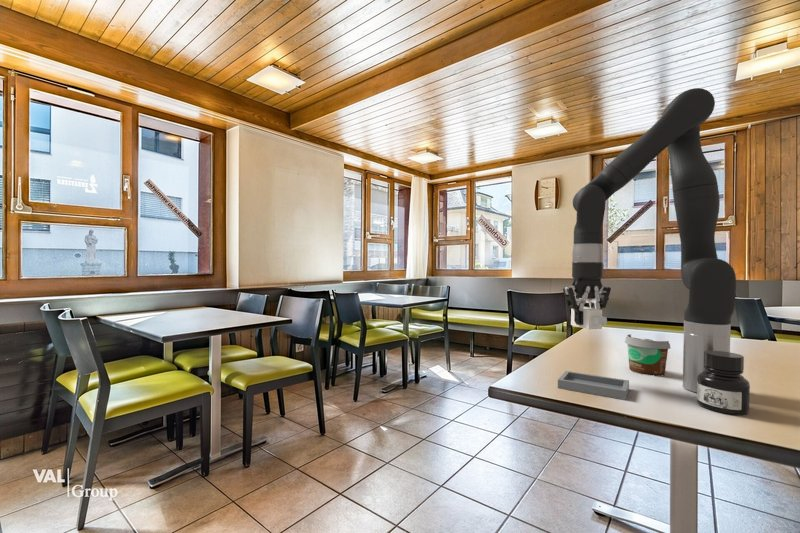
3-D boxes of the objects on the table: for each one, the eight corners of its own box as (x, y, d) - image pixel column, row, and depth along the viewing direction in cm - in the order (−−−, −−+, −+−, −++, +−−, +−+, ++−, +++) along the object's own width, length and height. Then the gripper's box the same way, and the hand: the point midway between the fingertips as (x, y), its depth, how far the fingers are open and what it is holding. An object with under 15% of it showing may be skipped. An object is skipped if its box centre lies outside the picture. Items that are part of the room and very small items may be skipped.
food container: (615, 368, 118) (615, 335, 118) (628, 365, 121) (628, 333, 121) (656, 379, 107) (657, 343, 107) (670, 376, 110) (670, 341, 110)
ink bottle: (686, 403, 89) (687, 350, 88) (709, 398, 92) (710, 347, 92) (737, 419, 80) (738, 360, 80) (760, 413, 83) (761, 357, 83)
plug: (583, 324, 109) (583, 306, 109) (608, 330, 100) (609, 311, 100) (570, 325, 108) (571, 307, 108) (595, 331, 99) (596, 311, 99)
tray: (628, 388, 98) (629, 380, 98) (625, 400, 90) (626, 391, 90) (565, 378, 107) (565, 370, 107) (557, 387, 99) (557, 379, 99)
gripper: (599, 261, 110) (598, 321, 111) (555, 260, 107) (554, 323, 107) (620, 261, 103) (619, 325, 103) (574, 260, 99) (573, 327, 100)
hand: (586, 324), depth 105 cm, fingers closed on plug, 4 cm apart
